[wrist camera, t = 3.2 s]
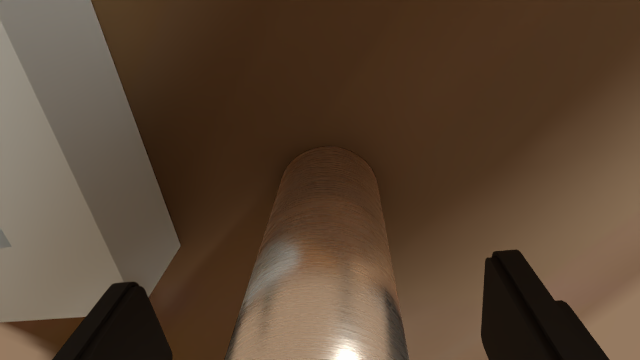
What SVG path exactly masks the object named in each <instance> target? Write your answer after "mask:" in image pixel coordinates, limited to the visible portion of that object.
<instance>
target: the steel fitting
mask: <svg viewBox="0 0 640 360" xmlns="http://www.w3.org/2000/svg"><path fill="white" fill-rule="evenodd" d="M224 360H409V356H408V350H407V345H406V339H405V334H404V328H403V323H402V317H401V312H400V306H399V300H398V295H397V289H396V284H395V278H394V273H393V267H392V261H391V256H390V250H389V245H388V239H387V234H386V228H385V222H384V217H383V211H382V206H381V200H380V195H379V189H378V183H377V179H376V176H375V174H374V172H373V170H372V169H371V167H370V166H369V165H368V163H367V162H366V161H365V160H364V159H362V158H361V157H360V156H358V155H357V154H355V153H353V152H351V151H349V150H346V149H343V148H339V147H330V146H328V147H318V148H314V149H310V150H308V151H306V152H303V153H302V154H300V155H299V156H297V157H296V158H295V159H294V160H293V161H292V162H291V163H290V164H289V165H288V167H287V168H286V169H285V172H284V174H283V176H282V179H281V182H280V186H279V189H278V192H277V195H276V198H275V201H274V205H273V208H272V211H271V214H270V217H269V220H268V224H267V227H266V230H265V233H264V236H263V239H262V242H261V246H260V249H259V252H258V255H257V258H256V261H255V265H254V268H253V271H252V274H251V277H250V280H249V284H248V287H247V290H246V293H245V296H244V299H243V303H242V306H241V309H240V312H239V315H238V318H237V321H236V325H235V328H234V331H233V334H232V337H231V340H230V344H229V347H228V350H227V353H226V356H225V359H224Z"/></svg>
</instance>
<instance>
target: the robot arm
mask: <svg viewBox="0 0 640 360" xmlns="http://www.w3.org/2000/svg"><path fill="white" fill-rule="evenodd" d="M481 338H482V343H483V346H484V349H485V351H486V354H487V356H488V359H489V360H609V358H608V357H607V356H606V354H605V353H604V352H603V350H602V349H601V348H600V346H599V345H598V344H597V342H596V341H595V340H594V338H593V337H592V336H591V335H590V333H589V332H588V330H587V329H586V327H585V326H584V325H583V323H582V322H581V321H580V319H579V318H578V317H577V315H576V314H575V313H574V311H573V310H572V309H571V307H570V306H569V305H568V304H567V303H566V302H564V301H562V300H561V301H555V300H554V299H553V297H552V296H551V295H550V293H549V292H548V290H547V289H546V288H545V286H544V285H543V283H542V282H541V281H540V279H539V278H538V276H537V275H536V273H535V272H534V271H533V269H532V268H531V266H530V265H529V264H528V262H527V261H526V259H525V258H524V256H523V255H522V254H521V252H520V251H519V250H506V251H495V252H493V254H492V257H491V258H486V261H485V275H484V292H483V308H482V325H481ZM52 360H172V351H171V349H170V347H169V344H168V342H167V340H166V337H165V335H164V333H163V330H162V328H161V326H160V324H159V321H158V319H157V317H156V314H155V312H154V310H153V307H152V305H151V303H150V300H149V298H148V296H147V293H146V291H145V289H144V288H143V287H142V286H139V284H138V283H137V282H121V283H114V284H112V285H111V286H110V287H109V288H108V289H107V291H106V292H105V293H104V294H103V296H102V297H101V298H100V299H99V301H98V302H97V303H96V305H95V306H94V307H93V308H92V310H91V311H90V312H89V313H88V315H87V316H86V317H85V319H84V320H83V321H82V322H81V324H80V325H79V326H78V328H77V329H76V330H75V331H74V333H73V334H72V335H71V336H70V338H69V339H68V340H67V342H66V343H65V344H64V345H63V347H62V348H61V349H60V350H59V352H58V353H57V354H56V356H55V357H54V358H53V359H52Z"/></svg>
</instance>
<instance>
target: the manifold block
mask: <svg viewBox="0 0 640 360" xmlns="http://www.w3.org/2000/svg"><path fill="white" fill-rule="evenodd" d="M180 246H181V245H180V243H179V240H178V237H177V234H176V232H175V229H174V226H173V223H172V221H171V218H170V215H169V213H168V210H167V207H166V204H165V202H164V199H163V196H162V193H161V191H160V188H159V185H158V183H157V180H156V177H155V174H154V172H153V169H152V166H151V163H150V161H149V158H148V155H147V152H146V150H145V147H144V144H143V142H142V139H141V136H140V133H139V131H138V128H137V125H136V122H135V120H134V117H133V114H132V112H131V109H130V106H129V103H128V101H127V98H126V95H125V92H124V90H123V87H122V84H121V82H120V79H119V76H118V73H117V71H116V68H115V65H114V62H113V60H112V57H111V54H110V51H109V49H108V46H107V43H106V41H105V38H104V35H103V32H102V30H101V27H100V24H99V21H98V19H97V16H96V13H95V11H94V8H93V5H92V2H91V0H0V322H14V321H29V320H44V319H60V318H75V317H86V316H87V315H88V313H89V312H90V311H91V310H92V308H93V307H94V306H95V305H96V303H97V302H98V301H99V299H100V298H101V297H102V296H103V294H104V293H105V292H106V291H107V289H108V288H109V287H110V286H111V285H112V284H114V283H121V282H137V283H138V284H139V286H142V287H143V288H144V289H145V291H146V293H147V296H148V297H149V296H150V294H151V293H152V291H153V289H154V288H155V286H156V285H157V283H158V281H159V280H160V278H161V277H162V275H163V273H164V272H165V270H166V269H167V267H168V265H169V264H170V262H171V261H172V259H173V257H174V256H175V254H176V253H177V251H178V249H179V248H180Z"/></svg>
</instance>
